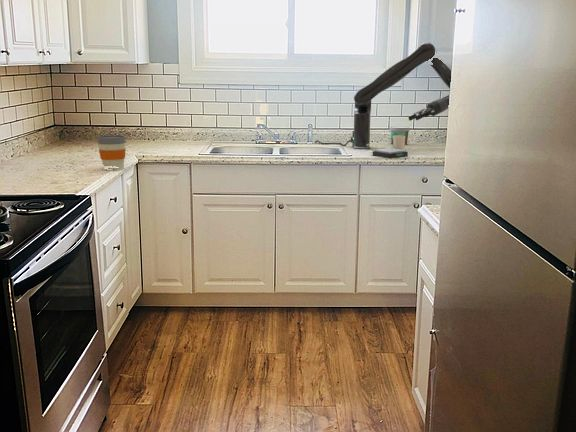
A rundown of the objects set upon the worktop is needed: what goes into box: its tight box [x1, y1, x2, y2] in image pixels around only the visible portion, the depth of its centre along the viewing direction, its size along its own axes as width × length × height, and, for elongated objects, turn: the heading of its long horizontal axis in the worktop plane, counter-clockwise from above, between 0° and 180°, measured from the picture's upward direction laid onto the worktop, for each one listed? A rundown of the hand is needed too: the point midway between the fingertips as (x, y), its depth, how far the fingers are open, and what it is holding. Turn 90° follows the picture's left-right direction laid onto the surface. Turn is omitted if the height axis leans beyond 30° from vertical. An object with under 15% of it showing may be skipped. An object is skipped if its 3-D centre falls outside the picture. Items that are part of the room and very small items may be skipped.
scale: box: [371, 147, 409, 159], centre depth 324 cm, size 13×13×3 cm
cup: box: [392, 135, 406, 150], centre depth 336 cm, size 6×6×9 cm
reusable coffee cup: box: [97, 134, 127, 171], centre depth 287 cm, size 12×12×15 cm
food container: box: [389, 126, 411, 145], centre depth 369 cm, size 12×6×10 cm, turn 62°
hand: (412, 118), depth 335 cm, fingers open, 8 cm apart
